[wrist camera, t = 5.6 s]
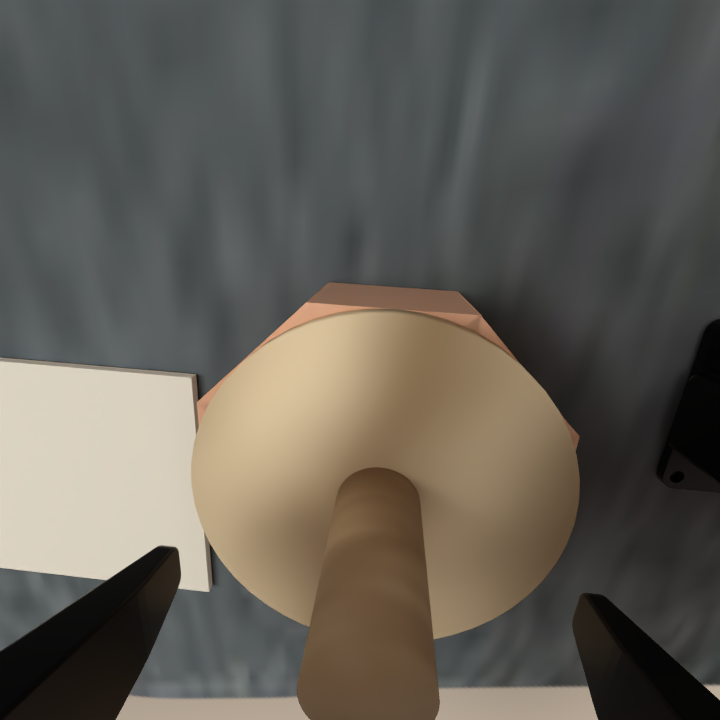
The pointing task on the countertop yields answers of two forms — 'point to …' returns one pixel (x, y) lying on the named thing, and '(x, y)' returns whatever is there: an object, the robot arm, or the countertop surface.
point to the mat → (97, 469)
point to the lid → (383, 496)
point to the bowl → (383, 297)
